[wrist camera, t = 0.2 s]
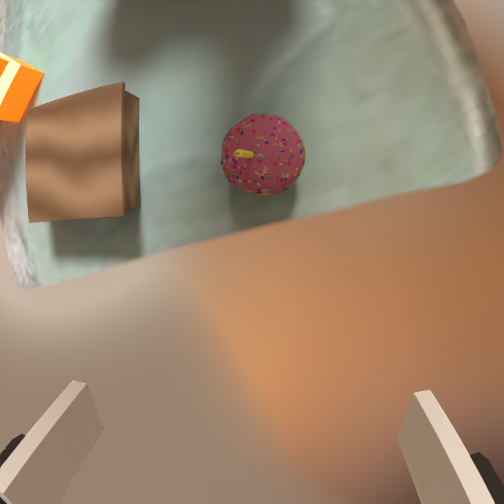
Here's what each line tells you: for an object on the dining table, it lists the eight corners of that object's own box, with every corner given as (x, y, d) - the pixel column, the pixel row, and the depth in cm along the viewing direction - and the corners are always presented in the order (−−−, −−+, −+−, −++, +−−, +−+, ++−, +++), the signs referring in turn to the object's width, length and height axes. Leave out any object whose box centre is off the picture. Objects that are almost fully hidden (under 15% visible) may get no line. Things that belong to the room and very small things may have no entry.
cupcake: (237, 201, 36) (221, 212, 25) (218, 132, 34) (194, 112, 23) (308, 183, 35) (327, 186, 24) (290, 114, 33) (299, 85, 22)
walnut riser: (53, 115, 35) (27, 110, 29) (142, 94, 34) (122, 82, 28) (55, 216, 38) (29, 222, 32) (144, 210, 37) (123, 216, 31)
